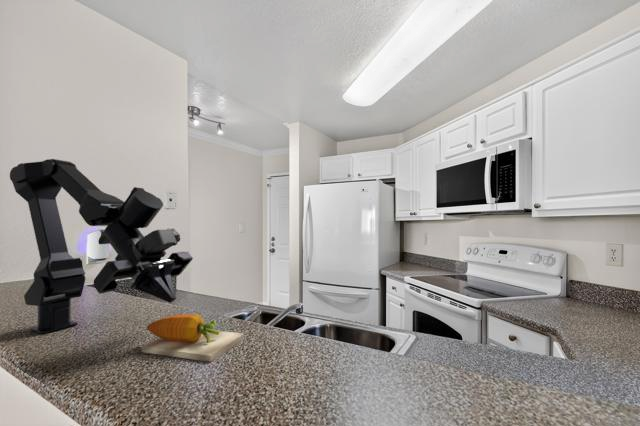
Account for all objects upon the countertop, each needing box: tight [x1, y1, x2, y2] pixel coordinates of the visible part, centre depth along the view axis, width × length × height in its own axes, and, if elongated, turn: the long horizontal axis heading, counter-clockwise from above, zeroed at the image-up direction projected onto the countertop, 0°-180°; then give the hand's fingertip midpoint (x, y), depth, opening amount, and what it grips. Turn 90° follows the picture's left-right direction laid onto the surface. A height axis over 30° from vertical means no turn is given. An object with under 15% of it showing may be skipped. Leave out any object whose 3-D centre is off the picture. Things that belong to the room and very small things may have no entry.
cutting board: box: [141, 330, 245, 363], centre depth 55 cm, size 15×10×1 cm, turn 72°
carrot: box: [146, 313, 220, 343], centre depth 55 cm, size 5×5×15 cm
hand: (173, 300), depth 57 cm, fingers closed
